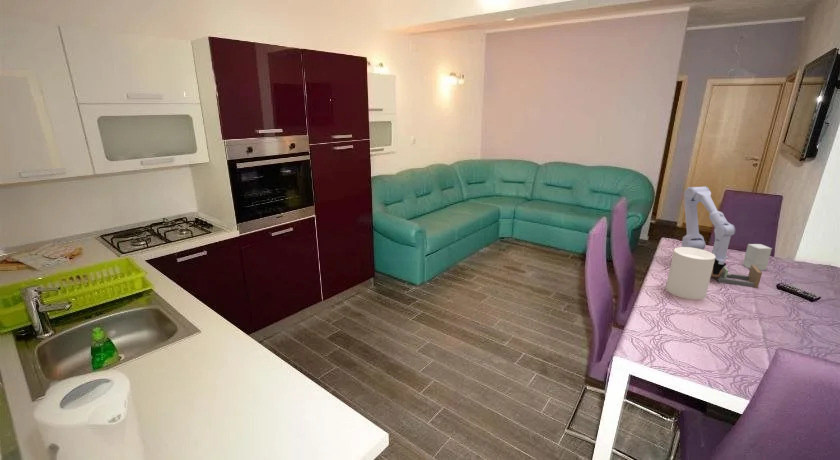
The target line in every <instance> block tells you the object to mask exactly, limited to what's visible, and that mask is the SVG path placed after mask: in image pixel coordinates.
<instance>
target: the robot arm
mask: <svg viewBox="0 0 840 460" xmlns="http://www.w3.org/2000/svg"><path fill="white" fill-rule="evenodd" d="M683 195H684V196H683V197H684V200H683V201H684V203H683V204H684V213H685V214H684V215H685V216H684V217H685V226H686V227H685V228H686V235H684V236H682V242H681V247H691V248H697V249H702V250H705V248H706V245H707V244H706V242H705V239H704V236H703V235H702V234H701V233H700V230H699V217H698V216H699V215H698V204H699V203H702V205H703V206H704V208H705V209H706V210H707V211H708V213H709V216H708V218H709V220H710V222H711V223H712V225H713V226H714V230H713V231H714V233H713V234H714V242H713V248H712V252H711V253H712V254H714V255H715V256H716V257H715V261H714V265H713V274H714V275H718V274H719V273H720V271H721V269H722V268H723V267H724V266H726V265H727V262H725V260H726V259H727V260H728V259H729V256H728V255H727V253H728V249H729V245H730V241H731V238H732V236H734V235H735V234H736V227H735V225H734V224H732V223H730V222H729V221H728V220H727V219H726V217H725V215H724V213H723V212H722V211H719V210H718V208H717V207H716V205H715V203H714V200H713V198H712V191H710V189H709V187H707V186H704V185H703V186H688V187H687V188H686V189H685V190H684V192H683Z"/></svg>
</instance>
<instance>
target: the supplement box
mask: <svg viewBox="0 0 840 460" xmlns="http://www.w3.org/2000/svg"><path fill="white" fill-rule="evenodd" d="M772 249H773V248H772V247H769V246H767V245H764V244H761V243H748V244H747V246H746V250H745V254H744V259H743V261H742V266H744V267H746V268H747V269H750V268H751V265H755V266H756V267H757V268H758V269H759V270H760V271H766V270H767V267H768V263H769V260H770V258H771V253H772Z"/></svg>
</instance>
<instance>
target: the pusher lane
mask: <svg viewBox="0 0 840 460" xmlns="http://www.w3.org/2000/svg"><path fill="white" fill-rule="evenodd" d="M762 276H763V272H762V270H759V269H758V268H757V267H756V266H755V265H751V268H749V272H748V275H743V274H736V273H731V275H730V276H729V275H727V278H721V277H715V278H716V281H717V282H718V283H722V284H730V285H736V286H743V287H750V288H756V289H758V288H759V286H760V282H761V278H762Z"/></svg>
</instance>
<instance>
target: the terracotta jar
mask: <svg viewBox="0 0 840 460" xmlns="http://www.w3.org/2000/svg"><path fill="white" fill-rule="evenodd" d="M722 269H723V268H722ZM722 269H721V271H720V273H719V274H718V275H714V274H713V269H712V273H711V278H712V277H713V278H716V277H720V276H721V272H722ZM720 278H721V277H720Z"/></svg>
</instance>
